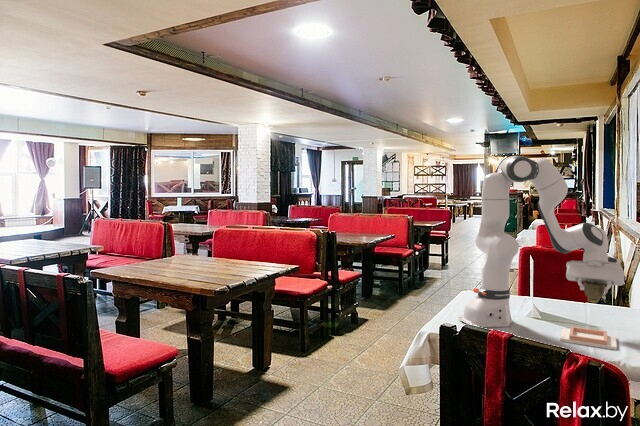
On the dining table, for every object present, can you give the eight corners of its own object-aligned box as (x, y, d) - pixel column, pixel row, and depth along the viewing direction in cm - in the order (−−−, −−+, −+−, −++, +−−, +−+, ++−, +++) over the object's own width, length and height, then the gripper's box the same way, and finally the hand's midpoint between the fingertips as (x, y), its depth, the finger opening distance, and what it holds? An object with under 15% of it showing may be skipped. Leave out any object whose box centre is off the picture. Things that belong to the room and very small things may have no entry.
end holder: (616, 349, 164) (616, 343, 164) (560, 341, 174) (560, 334, 173) (615, 338, 175) (615, 332, 175) (562, 330, 185) (562, 324, 184)
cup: (584, 298, 188) (585, 279, 187) (605, 301, 183) (606, 282, 183) (580, 302, 182) (582, 282, 182) (602, 305, 178) (603, 285, 177)
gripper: (566, 255, 193) (564, 283, 185) (624, 260, 182) (624, 289, 175) (566, 264, 197) (564, 291, 189) (623, 269, 186) (623, 298, 179)
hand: (593, 290), depth 182 cm, fingers closed on cup, 6 cm apart
